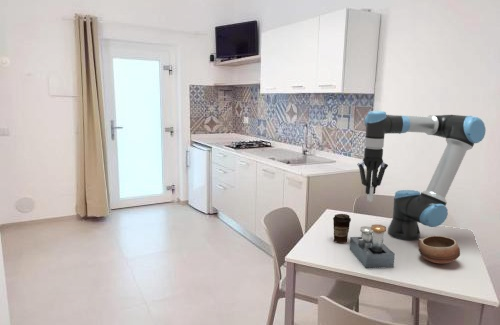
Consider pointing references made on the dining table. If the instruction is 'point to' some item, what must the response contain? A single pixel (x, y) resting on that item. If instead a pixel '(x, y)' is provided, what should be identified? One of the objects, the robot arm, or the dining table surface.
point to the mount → (372, 255)
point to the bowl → (439, 249)
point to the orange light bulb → (377, 237)
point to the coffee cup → (341, 227)
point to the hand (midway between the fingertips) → (369, 200)
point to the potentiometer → (361, 242)
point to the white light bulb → (366, 234)
